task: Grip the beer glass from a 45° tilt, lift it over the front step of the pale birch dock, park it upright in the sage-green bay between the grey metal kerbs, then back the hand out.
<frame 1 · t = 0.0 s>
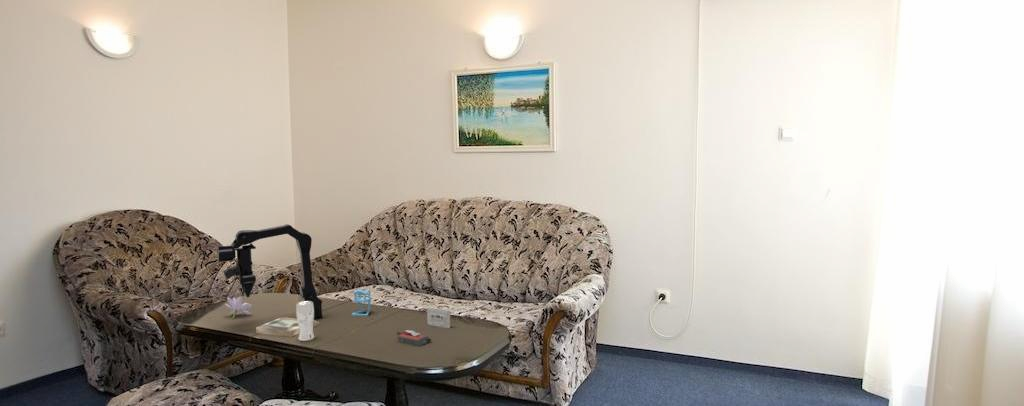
hand: (246, 294, 257), 15 cm above the table, tool pointing down, fingers open, 9 cm apart
water lily: (240, 317, 277), on the table
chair: (363, 314, 279), on the table
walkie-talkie: (409, 341, 239), on the table
dock: (286, 329, 255), on the table
cassette: (438, 326, 257), on the table
beer glass: (306, 339, 242), on the table
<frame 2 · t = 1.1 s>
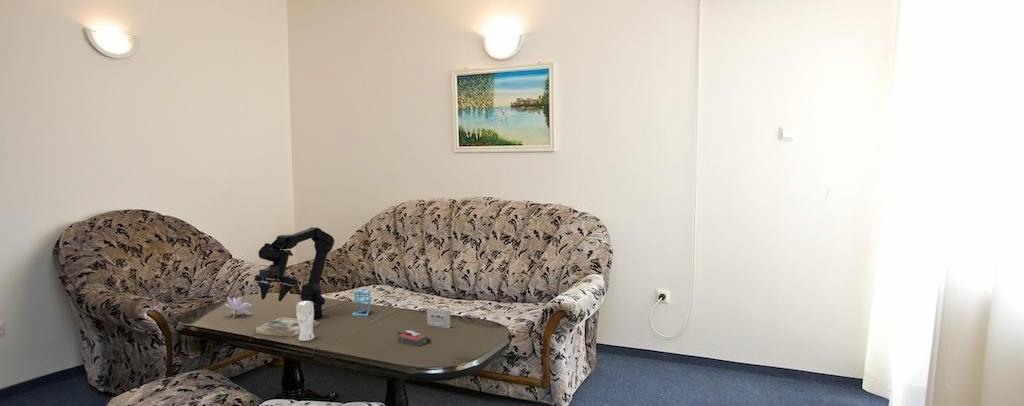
hand: (271, 300, 248), 14 cm above the table, tool tilted 20°, fingers open, 9 cm apart
nothing on the table moved.
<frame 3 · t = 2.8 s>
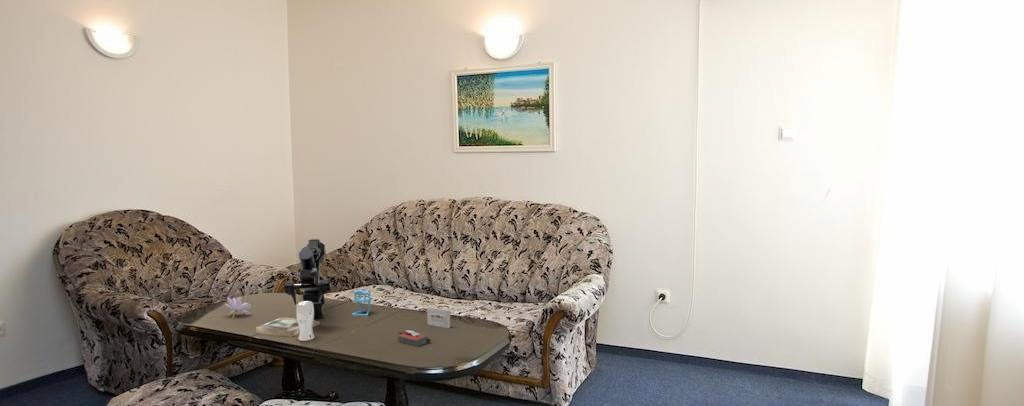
hand: (306, 303, 248), 13 cm above the table, tool tilted 45°, fingers open, 9 cm apart
nothing on the table moved.
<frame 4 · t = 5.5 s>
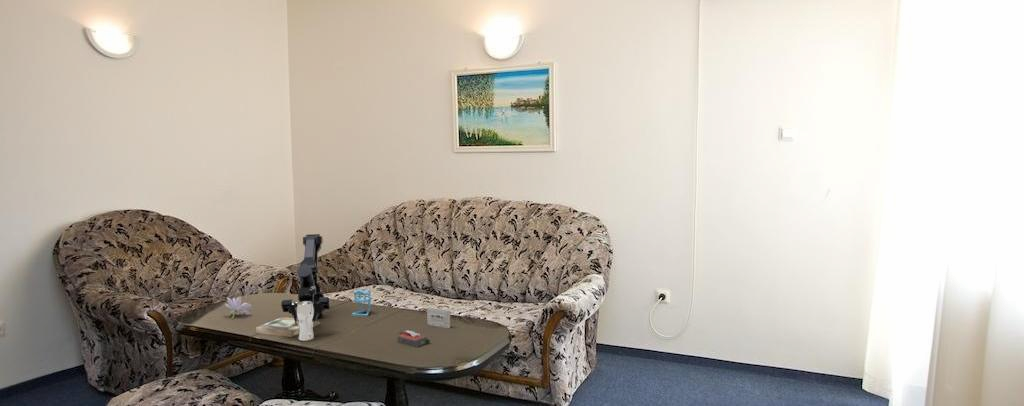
hand: (305, 322, 240), 7 cm above the table, tool tilted 45°, fingers closed on beer glass, 7 cm apart
beer glass: (306, 338, 242), on the table, touching gripper
everything else where it was.
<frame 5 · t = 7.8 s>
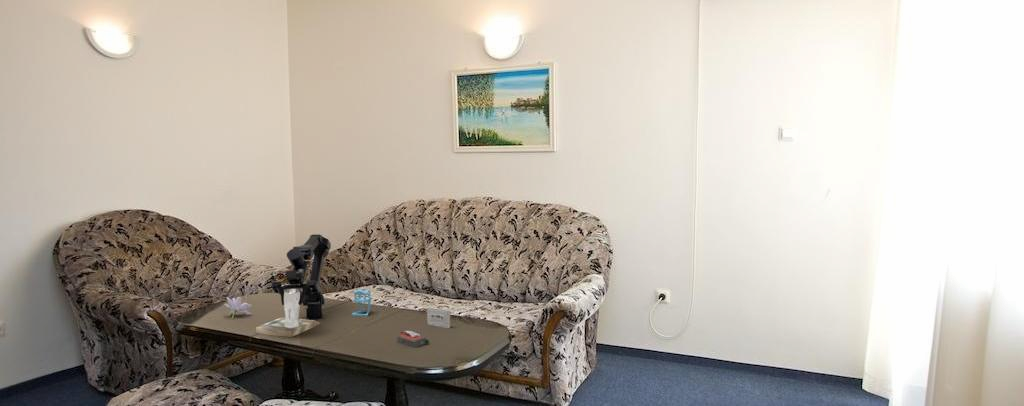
hand: (291, 304, 244), 14 cm above the table, tool tilted 45°, fingers closed on beer glass, 7 cm apart
beer glass: (291, 325, 246), point 4 cm above the table, touching gripper
everything else where it was.
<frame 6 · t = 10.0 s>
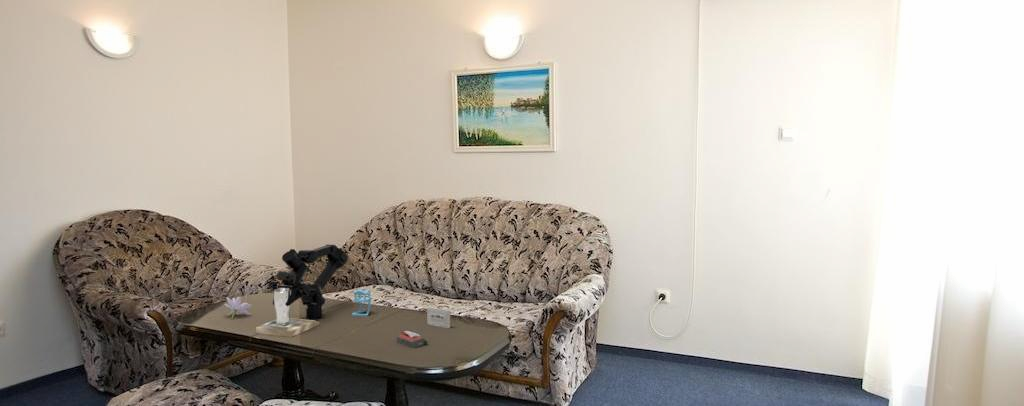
hand: (280, 305, 251), 12 cm above the table, tool tilted 45°, fingers closed on beer glass, 7 cm apart
beer glass: (283, 323, 254), point 3 cm above the table, touching dock, gripper
when the fingers open (12 cm above the table, at t = 10.0 s): beer glass stays where it is, resting on dock.
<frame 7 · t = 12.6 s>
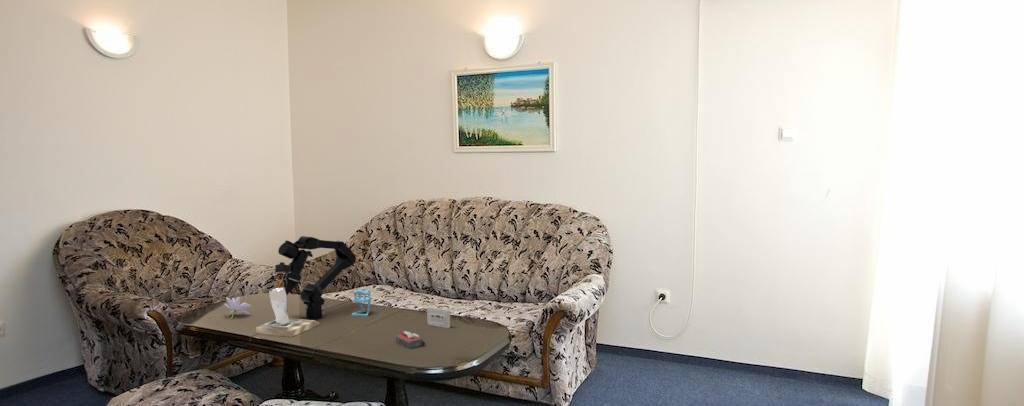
hand: (283, 295, 260), 13 cm above the table, tool tilted 30°, fingers open, 9 cm apart
beer glass: (283, 323, 254), point 3 cm above the table, touching dock
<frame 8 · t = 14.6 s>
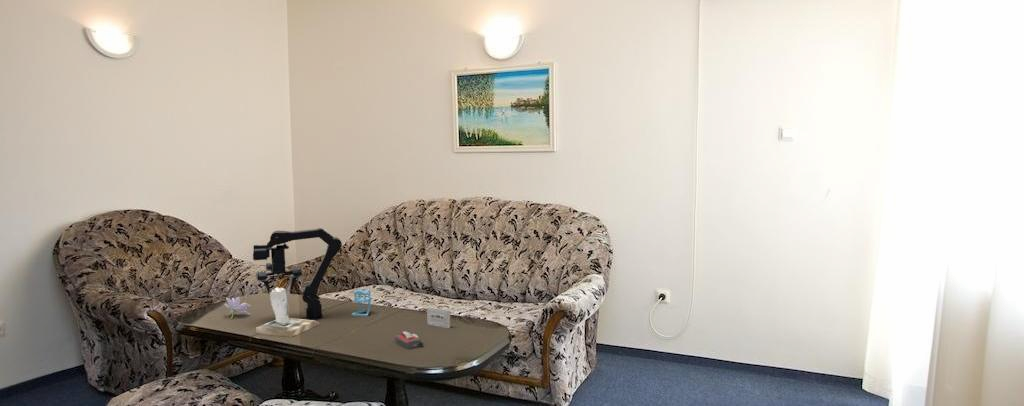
hand: (279, 292, 267), 13 cm above the table, tool pointing down, fingers open, 9 cm apart
at the end: beer glass inside the target area on the dock (1.1 cm from its centre), point 2.7 cm above the dock's base; beer glass tilted 4°; the gripper is holding nothing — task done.
